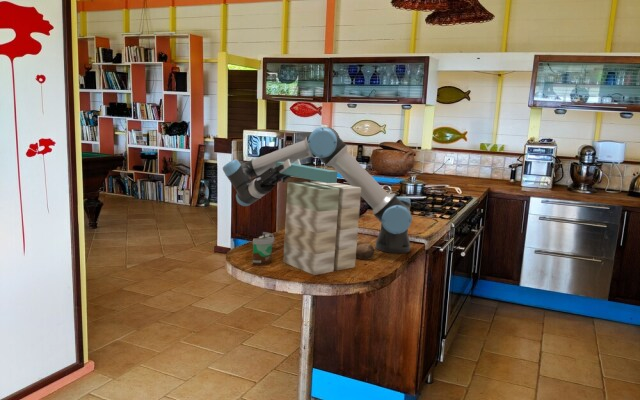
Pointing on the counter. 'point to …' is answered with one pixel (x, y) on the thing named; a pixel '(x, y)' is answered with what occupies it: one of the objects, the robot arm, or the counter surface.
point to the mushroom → (364, 251)
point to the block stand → (321, 226)
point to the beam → (310, 173)
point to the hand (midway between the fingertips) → (294, 162)
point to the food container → (262, 248)
